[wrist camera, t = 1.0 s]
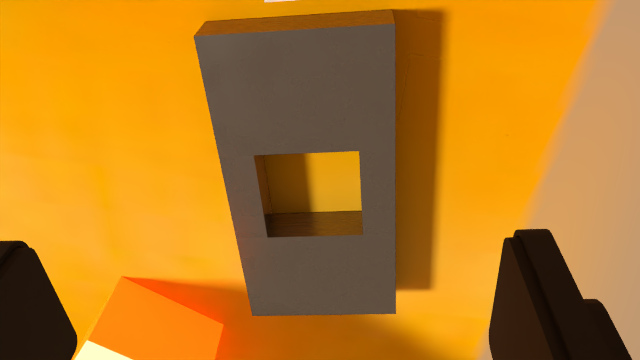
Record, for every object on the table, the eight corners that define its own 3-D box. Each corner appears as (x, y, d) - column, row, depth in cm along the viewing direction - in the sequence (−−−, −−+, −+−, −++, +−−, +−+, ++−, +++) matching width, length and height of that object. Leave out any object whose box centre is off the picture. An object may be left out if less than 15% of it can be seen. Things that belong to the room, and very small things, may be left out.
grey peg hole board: (205, 21, 29) (193, 36, 26) (392, 9, 28) (395, 23, 26) (257, 290, 39) (252, 315, 37) (393, 287, 38) (395, 313, 36)
